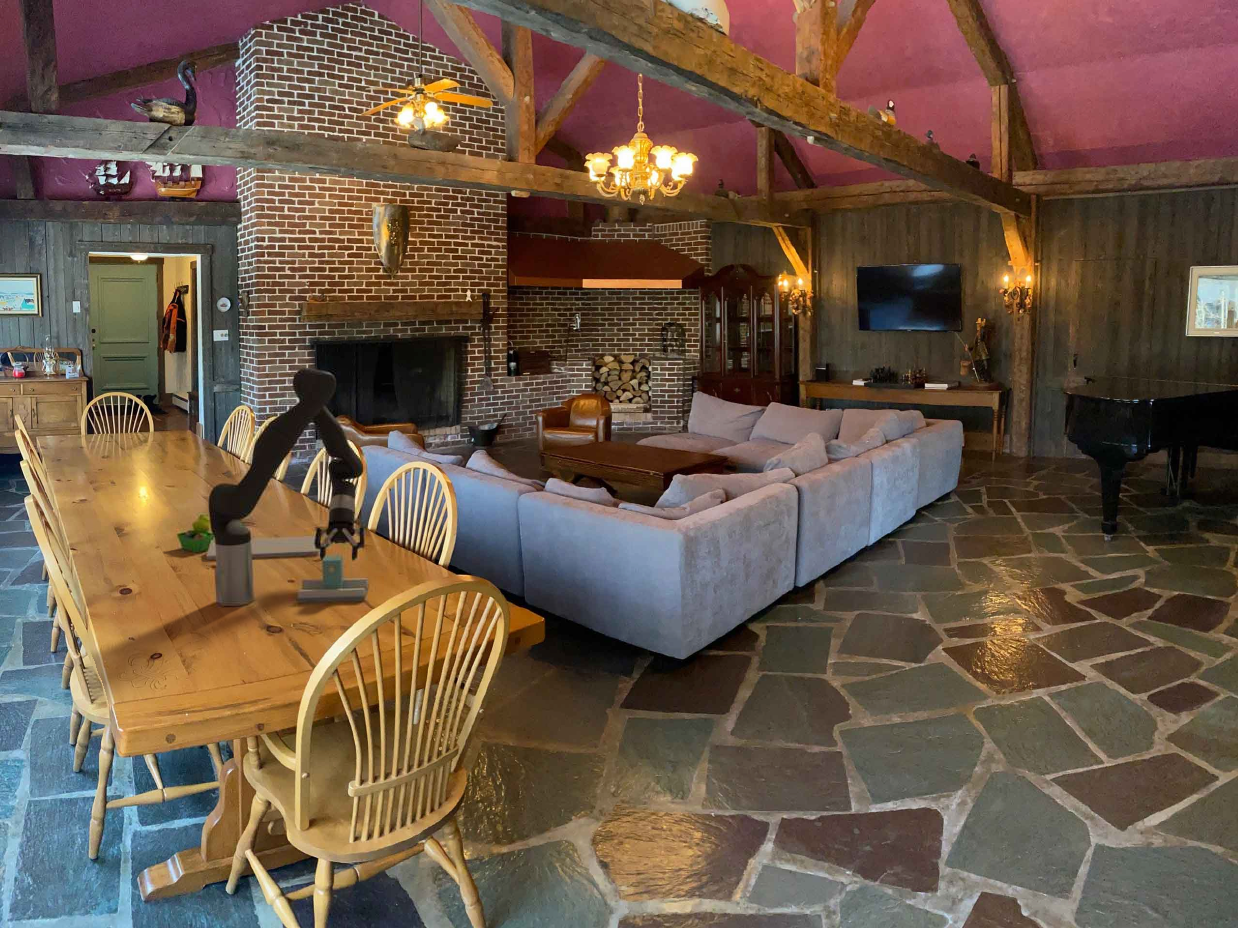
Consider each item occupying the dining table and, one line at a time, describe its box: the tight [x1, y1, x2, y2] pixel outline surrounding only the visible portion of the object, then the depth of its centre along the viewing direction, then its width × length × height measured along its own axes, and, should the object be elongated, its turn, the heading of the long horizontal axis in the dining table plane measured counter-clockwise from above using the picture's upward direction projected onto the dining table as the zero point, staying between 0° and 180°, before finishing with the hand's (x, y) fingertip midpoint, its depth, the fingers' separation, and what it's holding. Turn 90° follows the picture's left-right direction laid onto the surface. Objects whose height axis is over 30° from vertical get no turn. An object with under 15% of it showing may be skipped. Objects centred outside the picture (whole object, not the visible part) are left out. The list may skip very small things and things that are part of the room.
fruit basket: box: [176, 513, 215, 553], centre depth 314 cm, size 11×9×11 cm
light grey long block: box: [206, 535, 320, 561], centre depth 310 cm, size 34×5×10 cm
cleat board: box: [297, 577, 370, 604], centre depth 269 cm, size 18×13×4 cm
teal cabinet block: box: [321, 555, 344, 589], centre depth 267 cm, size 5×6×10 cm
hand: (338, 559), depth 278 cm, fingers open, 8 cm apart
